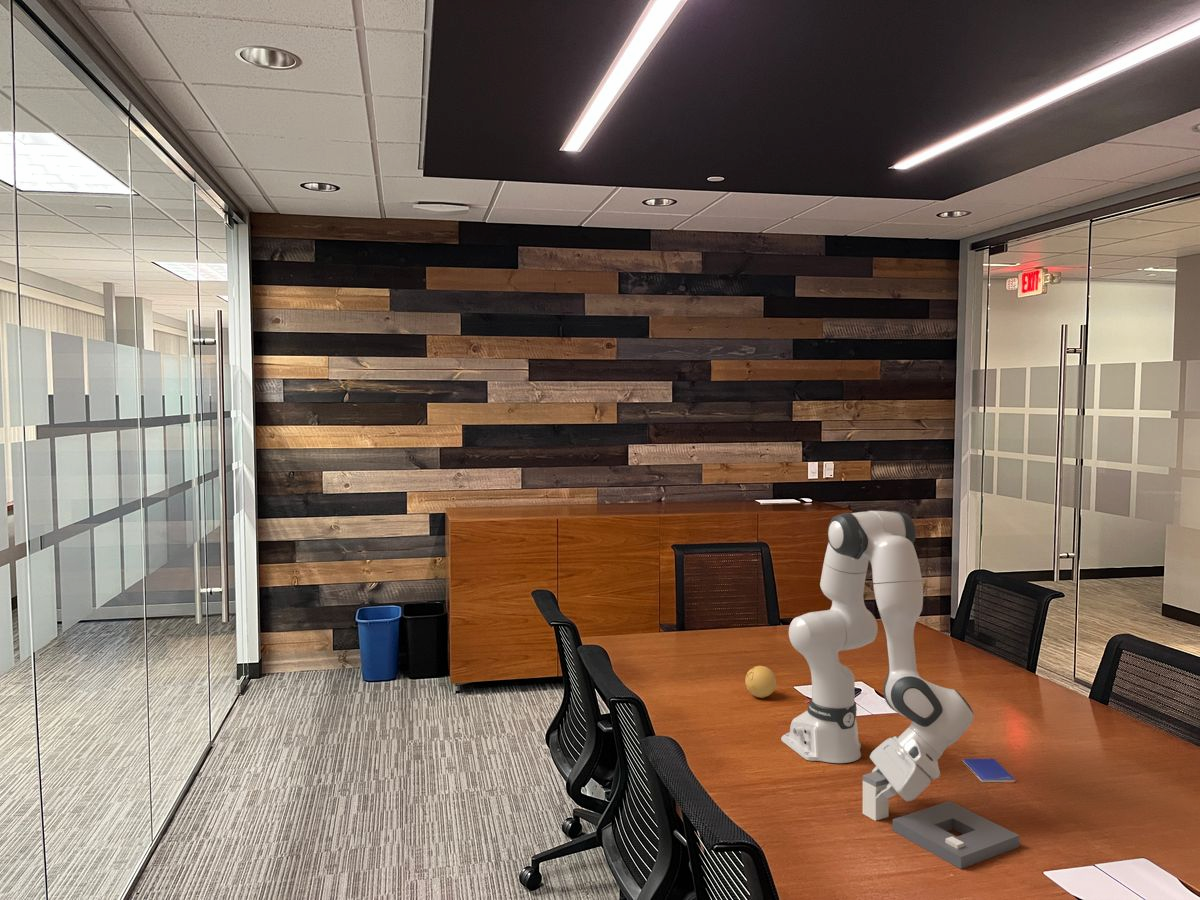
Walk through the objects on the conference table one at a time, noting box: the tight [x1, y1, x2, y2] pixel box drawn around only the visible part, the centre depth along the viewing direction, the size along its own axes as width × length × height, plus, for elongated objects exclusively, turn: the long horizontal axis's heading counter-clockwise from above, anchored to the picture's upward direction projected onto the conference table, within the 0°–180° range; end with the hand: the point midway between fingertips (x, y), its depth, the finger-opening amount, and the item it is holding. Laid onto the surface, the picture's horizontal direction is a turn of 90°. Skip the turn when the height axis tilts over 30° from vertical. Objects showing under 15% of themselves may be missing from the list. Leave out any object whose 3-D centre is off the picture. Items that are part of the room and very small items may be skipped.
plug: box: [862, 771, 890, 822], centre depth 195 cm, size 4×4×9 cm
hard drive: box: [962, 758, 1017, 783], centre depth 217 cm, size 2×8×12 cm
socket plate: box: [892, 800, 1021, 870], centre depth 184 cm, size 18×18×3 cm
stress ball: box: [744, 665, 777, 699], centre depth 275 cm, size 10×10×10 cm
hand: (872, 792), depth 195 cm, fingers closed on plug, 5 cm apart
